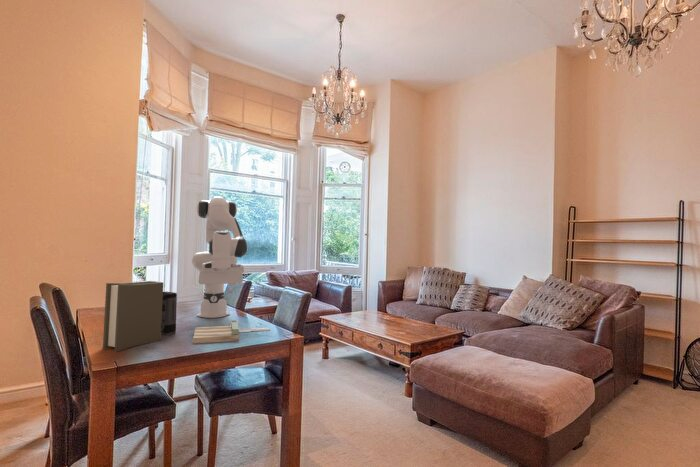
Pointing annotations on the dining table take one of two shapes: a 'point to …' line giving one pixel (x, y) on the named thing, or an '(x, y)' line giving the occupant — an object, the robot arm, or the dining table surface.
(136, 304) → the book
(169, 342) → the dining table surface
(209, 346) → the dining table surface
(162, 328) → the electronic device
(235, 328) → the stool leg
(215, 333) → the wooden cutting board
